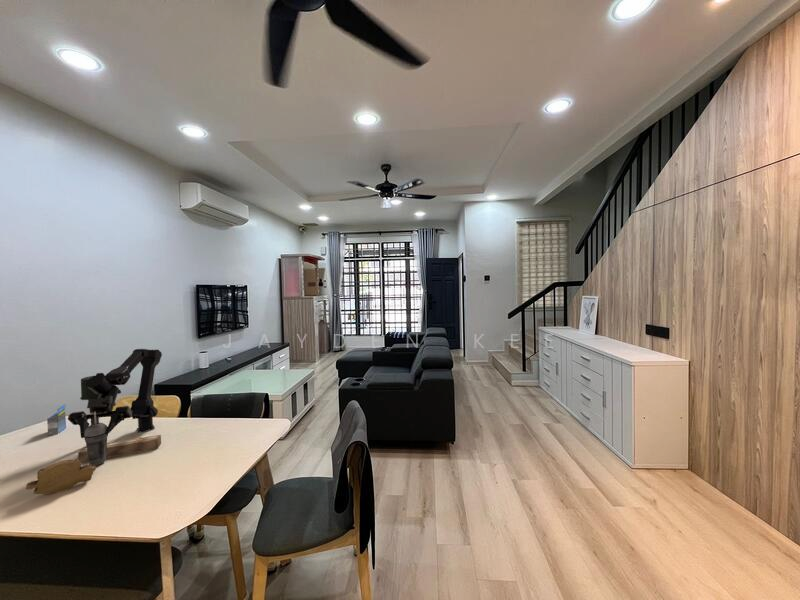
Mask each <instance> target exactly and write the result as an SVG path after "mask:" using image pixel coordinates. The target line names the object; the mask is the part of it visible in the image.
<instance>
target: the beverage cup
mask: <svg viewBox="0 0 800 600" xmlns="http://www.w3.org/2000/svg"><path fill="white" fill-rule="evenodd" d="M94 419H95V423H94V424H92V425H91V424H89V427H88V428H87V429H86V430H85V433H84V438H83V439H84V442H85V444H86V446H85V447H87V452H88V458H89V461H88V462H89V465H95V466H99V465H101V464H103V463H105V462H106V460H107V459H106V449H107V443H108V437H109V434H108V435H106V430H107V427H108V426H107V424H105V423H103V422H99V423H97V422H96V411H95V412H94Z"/></svg>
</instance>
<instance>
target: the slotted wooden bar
mask: <svg viewBox="0 0 800 600" xmlns="http://www.w3.org/2000/svg"><path fill="white" fill-rule="evenodd" d="M161 444H162V435H161V434H156V435H152V436H145V437H137V438H133V439H126V440H122V441H121V440H120V441H115V442H107V449H106V458H113V457H116V456H117V457H118V456H123V454H124V455H129V454H134V452H135V453H140V451H141V452H146V451H152V450H156V449H157V448H158V449H159V448H160V446H161ZM151 449H152V450H151ZM145 450H146V451H145ZM77 456H78V457H77V459H79V460H80V462H81V463H84V461H85V462H89V458H88V452H87V446H84V447H83V448H82V449H80V450H79V451H78V452H77Z"/></svg>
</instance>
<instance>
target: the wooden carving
mask: <svg viewBox="0 0 800 600" xmlns="http://www.w3.org/2000/svg"><path fill="white" fill-rule="evenodd" d="M96 470H97V469H96V465H90V464H85V465H82V462H80V460H79V459H78V458H76V459H65V460H60V461H58V462H54V463H52V464H49V465H47V466H46V467H44V468H40V469H39V470H38V471H37V475H36V478H37V479H36V480H33V481H29V482H28V483H27V484H26V487H25V490H31V489H33V494H34V495H53V494H57V493H56V492H58V493H60V492H59V491H61V492H63V491H62V490H64V491H66V490H65V489H67V490H69V489H71V488H72V487H75V486H76V485H78V484H80V483H85V482H88V481H90V480H91V479H92V476H93V475H94V472H95V471H96ZM68 488H69V489H68Z"/></svg>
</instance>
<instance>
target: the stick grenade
mask: <svg viewBox="0 0 800 600" xmlns="http://www.w3.org/2000/svg"><path fill="white" fill-rule="evenodd" d="M93 376H94V375H91V376H90V375H89V376H85V377H82V378H80V393H81V396H80V398H79V400H81V401H88V400H90V399H98V397H99V394H96V393H94V392H93V391H92V390H91V389H89V388H88V387H87V386H86V382H87V380H89V379H90V378H91V377H93ZM88 409H89V414H93V412H91V411H90V408H88ZM96 422H97V423H100V418H96ZM94 423H95V419H94V418H93V419H90V425H92V424H94Z"/></svg>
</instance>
